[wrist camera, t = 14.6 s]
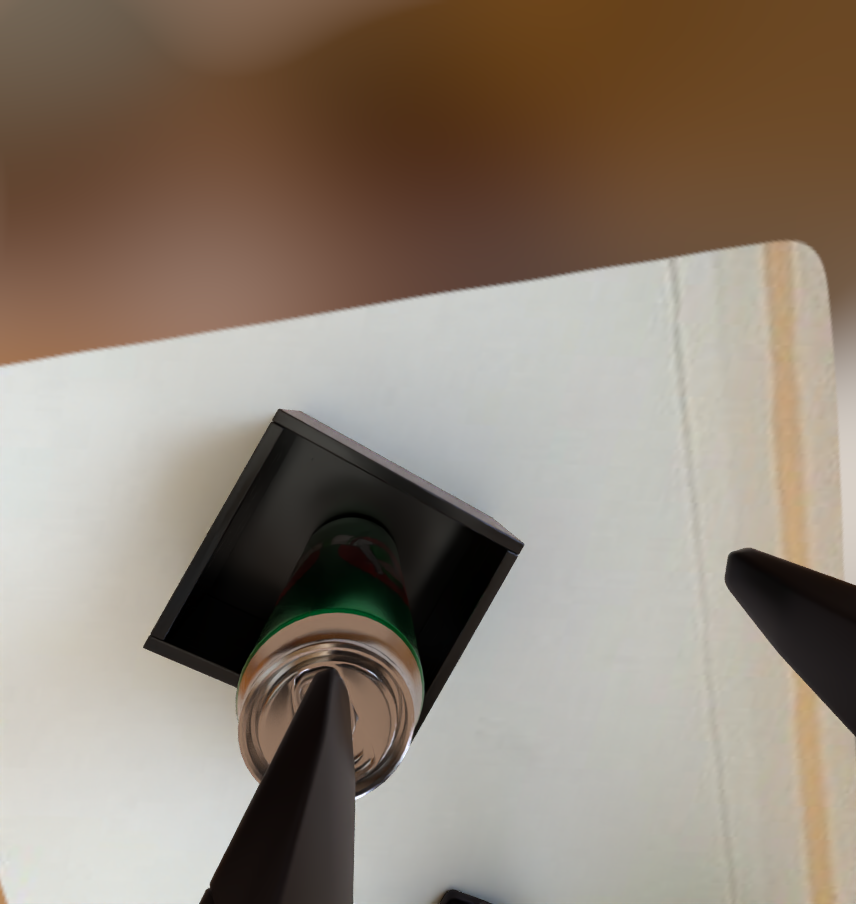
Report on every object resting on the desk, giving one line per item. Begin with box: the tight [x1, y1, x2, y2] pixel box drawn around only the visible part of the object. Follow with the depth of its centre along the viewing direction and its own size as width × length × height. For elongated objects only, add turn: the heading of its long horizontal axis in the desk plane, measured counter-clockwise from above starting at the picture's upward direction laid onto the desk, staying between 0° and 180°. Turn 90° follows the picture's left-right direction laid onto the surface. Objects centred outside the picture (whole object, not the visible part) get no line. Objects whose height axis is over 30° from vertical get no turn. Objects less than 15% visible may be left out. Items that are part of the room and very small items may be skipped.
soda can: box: [236, 517, 424, 799], centre depth 16 cm, size 5×5×12 cm
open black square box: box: [143, 409, 524, 746], centre depth 20 cm, size 11×12×5 cm
